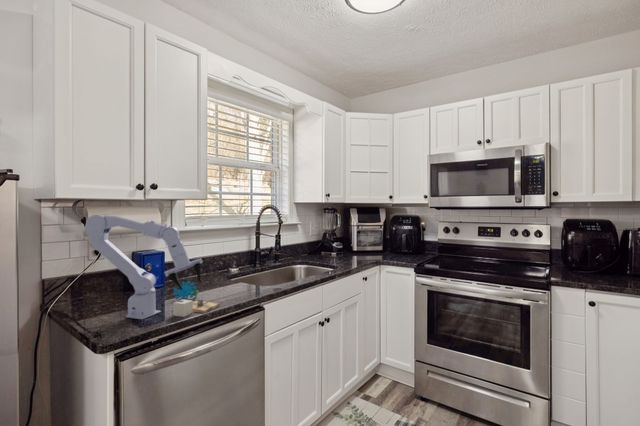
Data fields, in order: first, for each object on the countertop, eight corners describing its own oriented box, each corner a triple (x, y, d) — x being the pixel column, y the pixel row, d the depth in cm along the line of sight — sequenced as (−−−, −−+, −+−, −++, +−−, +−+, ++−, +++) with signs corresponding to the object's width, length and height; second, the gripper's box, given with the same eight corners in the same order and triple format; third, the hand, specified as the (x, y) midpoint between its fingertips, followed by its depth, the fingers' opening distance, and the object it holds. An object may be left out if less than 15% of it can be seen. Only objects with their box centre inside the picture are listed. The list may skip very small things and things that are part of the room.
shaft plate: (204, 312, 132) (204, 304, 132) (180, 309, 136) (180, 301, 135) (219, 305, 141) (219, 297, 141) (196, 303, 145) (196, 295, 145)
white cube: (192, 312, 132) (192, 300, 132) (184, 316, 127) (184, 303, 127) (182, 311, 133) (182, 298, 133) (173, 315, 129) (173, 302, 128)
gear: (169, 297, 147) (178, 278, 154) (172, 304, 152) (180, 285, 159) (193, 301, 147) (201, 282, 154) (195, 307, 152) (203, 288, 159)
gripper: (159, 263, 127) (172, 295, 128) (196, 249, 131) (208, 280, 133) (161, 260, 133) (173, 291, 135) (197, 247, 138) (208, 277, 139)
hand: (191, 285), depth 134 cm, fingers open, 7 cm apart
